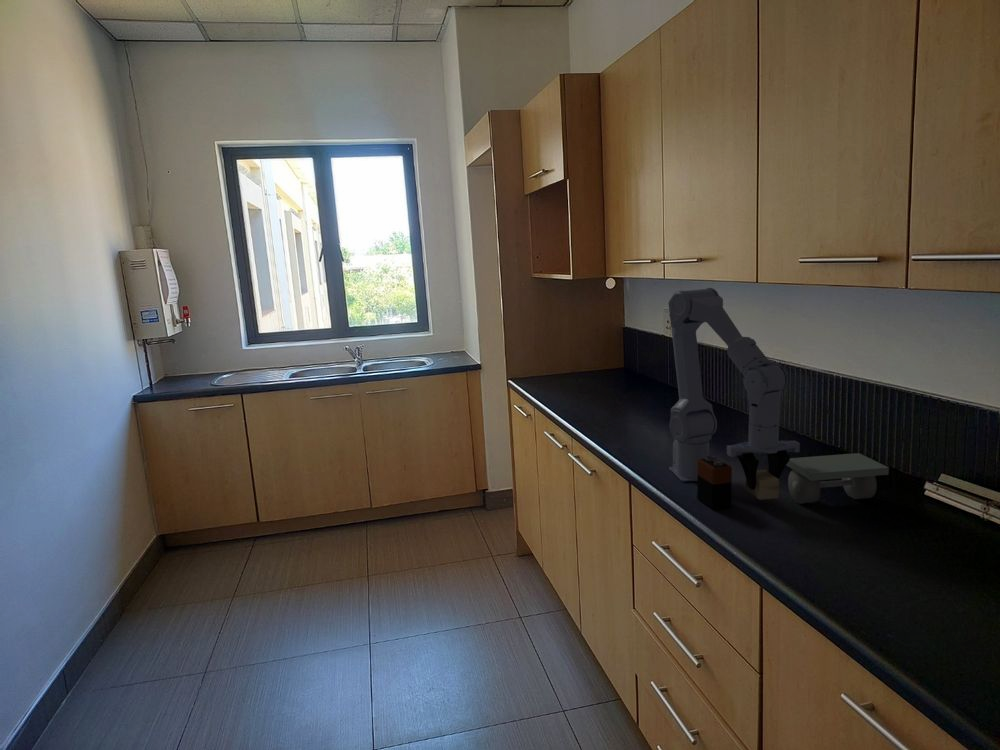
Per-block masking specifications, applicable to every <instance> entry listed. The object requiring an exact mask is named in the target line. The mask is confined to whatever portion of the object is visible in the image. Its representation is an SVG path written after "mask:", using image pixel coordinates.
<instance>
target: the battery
mask: <svg viewBox="0 0 1000 750" xmlns="http://www.w3.org/2000/svg"><path fill="white" fill-rule="evenodd" d="M732 471H733V467H732V465H730V464H728V463H726V462H724V459H719V458H716V457H715V456H713V455H710V454H709V455H708V456H706V458H705V459H698V473H697V481H696V482H697V485H696V486H697V487H696V488H697V491H696V493H697V494H696V497H697V499H698V500H699V501H700V502H702V503H703V504H704V503H705V505H706V506H707V507H709V508H710V509H712V510H713V509H716V510H721V509H722V508H723V509H728V508H729V507H730V508H732V481H733V480H732V479H733V477H732V476H733V475H732V474H733V473H732Z"/></svg>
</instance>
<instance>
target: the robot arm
mask: <svg viewBox="0 0 1000 750" xmlns="http://www.w3.org/2000/svg"><path fill="white" fill-rule="evenodd" d="M667 303H668V311H669V320H670V327H671V338H672V346H673V354H674V364H675V365H674V366H675V373H676V382H677V389H678V390H677V392H678V401H676V403H675V404H674V405H673V406H672V407H671V408H670V411H669V412H670V419H669V425H668V426H669V431H670V434H671V435H672V437H673V438H674V441H673V443H672V466H669V467H668V469H669V471H671V472H672V473H673V474H674V475H675V476H676V477H677V478H678V479H679V480H680V481H681V482H682V483H683V482H697V473H698V459H705V458H706V456H708V455H710V440H712V438H713V436H712V435H714V434H715V433H716V432H717V429H718V419H717V418H716V416H715V413H714V410H713V404H712V402H711V403H710V402H709V401H708V400H707V399H705V398H704V394H703V393H704V392H703V384H702V376H701V364H700V356H699V348H698V347H699V346H698V340H697V339H698V337H697V331H698V329H699V328H700V327H701V325H702V324H704V323H707V325H708V326H709V327H710V328H711V329H712V330H713V331H714V332H715V333H716V335H718V337H719V338H720V339H721V340H722V341H723V342H724V343H725V344H726V346H727V349H726V355H727V356H728V357H729V359H730V360H731V361H732V363H733V364H734V365H735V367H736V368H737V369H738V370H739V372H740V373H741V374H742V375H743V377H744V378H743V379H742V383H743V387H744V389H745V391H746V395H747V396H746V398H747V400H748V404H749V405H748V407H749V408H748V411H749V413H748V441H745V442H739V443H736V444H730V445H726V455H727V456H728V457H730V458H735V457H737V458H738V461H739V463H740V464H741V467H742V469H743V472H744V475H745V481H746V480H747V486H748V487H749V488H750V489H752V490H753V489H755V487H756V472H757V470H758V468H759V467H758V466H759V463H760V461H759V460H758V459H756V456H755V455H762V454H765V455H767V463H768V472H769V473H770V474H772V475H773V476H775V477H776V478H778V479H779V480H780V478H781V476H782V473H783V471H784V469H785V468H786V466H787V465H786V464H787V463H788V462H789V461H790V458H791V456H790V455H789V454H788V453H790V452H791V453H792V452H793V453H800V448H801V447H800V446H801V444H800V442H798V441H797V440H779V438H780V437H779V435H780V416H781V415H780V413H781V412H780V411H781V410H780V409H781V392H782V391H784V390H785V388H786V387H787V385H788V374H787V371H786V369H785V368H784V366H783V365H782V364H781V363H777V362H774V361H772V360H769V358H768V357H767V356H766V355H765V354H764V352H763V351H762V350H761V349H760V347H759V346H758V345H757V342H756V341H755V339H754V338H751V337H749V336H743V335H742V334H741V333H740V330H739V329H738V328H737V326H736V325H735V323H734V322H733V320H732V319H731V318H730V315H728V313H727V311H726V310H725V309H724V299H723V298H722V296H720V295H719V293H718V291H717V290H716V289H715V288H712V287H707V288H702V289H701V288H700V289H693V290H692V289H691V290H677V291H675V292H674V293H673V294H672V296H671V298H670V299H669V301H668V302H667Z"/></svg>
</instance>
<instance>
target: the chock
mask: <svg viewBox="0 0 1000 750" xmlns="http://www.w3.org/2000/svg"><path fill="white" fill-rule="evenodd" d="M779 487H780V478H779V479H778V478H776V477H775V476H773V475H772V474H770V473H769V471H768V470H766V469H757V472H756V487H755V489H753V490H752V489H750V488H749V487H748V486H747V480H746V479H745V490H747V491H748V492H749V493H750V494H751V495H753V496H754V497H755V498H756V499H758V500H773V499H779V493H780V492H779V489H780V488H779Z"/></svg>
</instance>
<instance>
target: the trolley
mask: <svg viewBox="0 0 1000 750" xmlns="http://www.w3.org/2000/svg"><path fill="white" fill-rule="evenodd" d="M786 466H787V467H789V468H790V469H791V471H790V472H789V474H788V477H787V486H788V490H789V491H788V492H789V495H790V496H791V498H792V499H793V501H794V502H795V503H797V504H800V505H801V504H803V505H804V504H814V503H817V502H818V501H819V499H820V496H821V488H834V487H835V488H836V487H843V489H844V492H845V493H846V494H847V496H848V497H849V496H850V497H852V498H853V500H863V499H871V498H873V497H874V496H875V494H876V493H877V486H878V485H877V484H878V483H877V479H876V477H877V476H888V475H889V473H890V472H889V471H890V467H889V466H887V465H885V464H882V463H880V462H878V461H876V460H874V459H872V458H870V457H869V456H866V455H863V454H862V453H859V452H857V453H856V452H855V453H844V454H831V455H829V454H828V455H815V456H805V457H792V458H791V457H790V461H789V462H788V463H787V464H786ZM825 480H826V481H825ZM828 480H829V481H828ZM850 497H849V498H850ZM852 498H851V499H852Z"/></svg>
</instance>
